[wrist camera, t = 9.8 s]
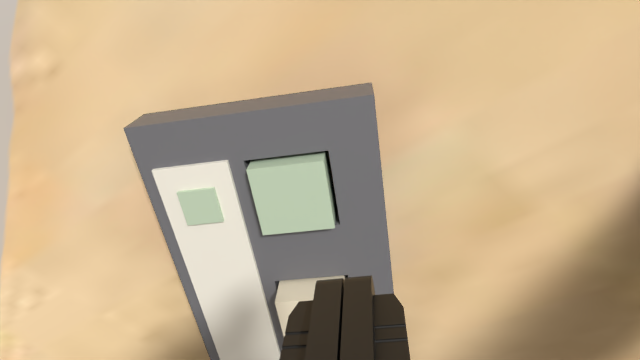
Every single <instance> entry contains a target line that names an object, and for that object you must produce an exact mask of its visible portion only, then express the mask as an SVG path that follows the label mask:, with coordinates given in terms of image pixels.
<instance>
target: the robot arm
mask: <svg viewBox="0 0 640 360" xmlns="http://www.w3.org/2000/svg"><path fill="white" fill-rule="evenodd" d="M279 360H410V354H409V346H408V338H407V331H406V323H405V316H404V308H403V306H402V305H401V303H400V302H399V300H398V299H397V298H396V296H395V295H394V293H392V294H380V295H375V290H374V284H373V278H372V275H370V276H359V277H348V278H345V280H344V278H338V279H327V280H317V281H316V285H315V291H314V298H313V300H310V301H299V302H298V304H297V305H296V306H295V308H294V309H293V311H292V312H291V313H290V315H289V316H288V321H287V326H286V331H285V336H284V340H283V345H282V350H281V354H280V359H279Z"/></svg>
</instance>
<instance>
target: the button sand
mask: <svg viewBox="0 0 640 360" xmlns="http://www.w3.org/2000/svg"><path fill="white" fill-rule="evenodd" d="M338 278H344V280H345V278H346V275H341V276H329V277H317V278H305V279H294V280H282V281H279V285H278V290H277V294H276V299H275V306H276V309H277V313H278V317H279V321H280V325H281V329H282V332H283V336H285V331H286V326H287V321H288V316H289V315H290V313H291V312H292V311H293V309H294V308H295V306H296V305H297V304H298V302H299V301H310V300H313V298H314V291H315V285H316V281H317V280H327V279H338Z"/></svg>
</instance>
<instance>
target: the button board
mask: <svg viewBox="0 0 640 360" xmlns="http://www.w3.org/2000/svg"><path fill="white" fill-rule="evenodd" d="M124 131H125V134H126V136H127V139H128V142H129V144H130V147H131V150H132V152H133V155H134V158H135V160H136V163H137V165H138V168H139V171H140V173H141V176H142V179H143V181H144V184H145V187H146V189H147V192H148V195H149V197H150V200H151V203H152V205H153V208H154V211H155V213H156V216H157V219H158V221H159V224H160V227H161V229H162V232H163V235H164V237H165V240H166V242H167V245H168V248H169V250H170V253H171V256H172V258H173V261H174V264H175V266H176V269H177V272H178V274H179V277H180V280H181V282H182V285H183V288H184V290H185V293H186V296H187V298H188V301H189V304H190V306H191V309H192V311H193V314H194V317H195V319H196V322H197V325H198V327H199V330H200V333H201V335H202V338H203V341H204V343H205V346H206V349H207V351H208V354H209V357H210V359H211V360H279V359H280V354H281V350H282V345H283V340H284V336H283V332H282V329H281V325H280V321H279V317H278V313H277V309H276V306H275V299H276V294H277V290H278V285H279V281H282V280H294V279H305V278H317V277H329V276H341V275H348V277H359V276H370V275H372V278H373V284H374V290H375V295H380V294H392V293H394V291H393V281H392V271H391V261H390V251H389V241H388V231H387V221H386V211H385V200H384V190H383V180H382V170H381V160H380V150H379V140H378V130H377V120H376V109H375V99H374V92H373V88H372V83H365V84H358V85H351V86H344V87H337V88H329V89H322V90H315V91H308V92H300V93H293V94H286V95H279V96H272V97H264V98H257V99H250V100H243V101H236V102H228V103H221V104H214V105H207V106H200V107H192V108H185V109H178V110H171V111H164V112H156V113H149V114H144V115H142V116H141V117H139V118H138V119H136V120H135V121H133V122H132V123H131V124H129V125H128V126H126V127H125V128H124ZM320 151H329V157H330V163H331V170H332V176H333V183H334V189H335V195H336V202H337V204H336V216H335V228H333V229H323V230H313V231H303V232H292V233H282V234H272V235H263V234H262V230H261V226H260V222H259V218H258V214H257V211H256V207H255V203H254V199H253V195H252V191H251V187H250V183H249V179H248V175H247V171H246V169H247V167H248V165H249V164H250V162H251V160H254V159H262V158H270V157H279V156H287V155H295V154H304V153H312V152H320Z"/></svg>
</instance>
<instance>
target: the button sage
mask: <svg viewBox="0 0 640 360" xmlns="http://www.w3.org/2000/svg"><path fill="white" fill-rule="evenodd" d="M246 171H247V175H248V179H249V183H250V187H251V191H252V195H253V199H254V203H255V207H256V211H257V214H258V218H259V222H260V226H261V230H262V234H263V235H272V234H282V233H292V232H303V231H313V230H323V229H333V228H335V216H336V199H335V192H334V186H333V180H332V173H331V167H330V160H329V154H328V151H320V152H312V153H304V154H295V155H287V156H279V157H270V158H262V159H254V160H251V162H250V164H249V165H248V167H247V169H246Z"/></svg>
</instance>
